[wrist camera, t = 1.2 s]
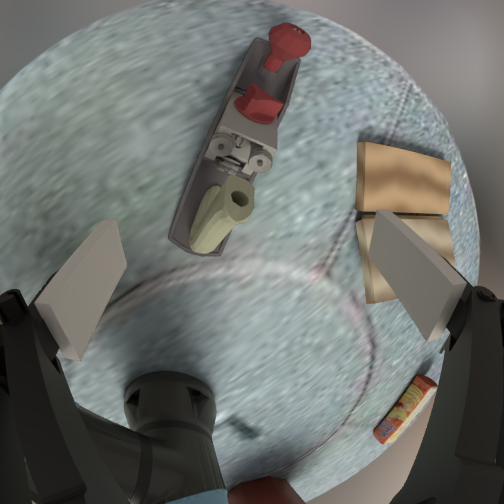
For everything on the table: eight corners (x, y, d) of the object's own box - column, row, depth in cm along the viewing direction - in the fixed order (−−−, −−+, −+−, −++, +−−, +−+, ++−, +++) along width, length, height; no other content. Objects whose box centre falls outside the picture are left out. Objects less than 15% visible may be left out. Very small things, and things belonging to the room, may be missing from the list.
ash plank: (450, 284, 43) (457, 282, 41) (366, 303, 38) (374, 303, 36) (439, 218, 45) (446, 216, 43) (354, 217, 40) (361, 213, 38)
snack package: (382, 431, 61) (394, 445, 55) (368, 432, 59) (381, 448, 53) (426, 373, 59) (441, 386, 53) (415, 372, 57) (431, 386, 50)
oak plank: (440, 212, 45) (448, 214, 43) (355, 209, 39) (363, 211, 37) (443, 161, 42) (450, 162, 40) (357, 142, 37) (365, 141, 35)
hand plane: (165, 243, 34) (160, 290, 20) (257, 33, 29) (302, -26, 15) (217, 260, 36) (245, 314, 22) (302, 55, 32) (363, 11, 18)
